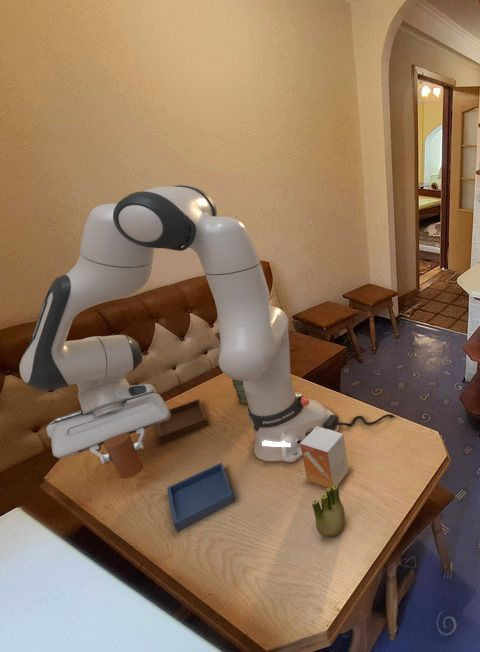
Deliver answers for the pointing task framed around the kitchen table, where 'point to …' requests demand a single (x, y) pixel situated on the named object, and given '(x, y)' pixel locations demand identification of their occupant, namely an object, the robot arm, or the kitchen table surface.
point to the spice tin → (124, 455)
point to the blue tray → (199, 496)
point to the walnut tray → (182, 421)
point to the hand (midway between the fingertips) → (124, 455)
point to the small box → (324, 457)
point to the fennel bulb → (329, 513)
